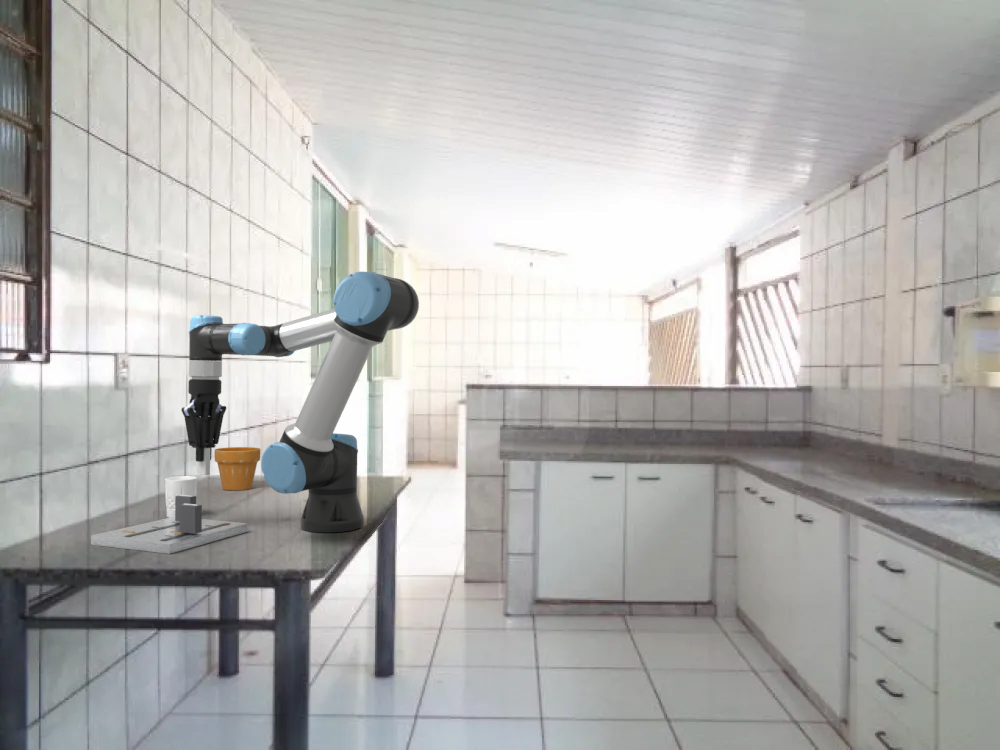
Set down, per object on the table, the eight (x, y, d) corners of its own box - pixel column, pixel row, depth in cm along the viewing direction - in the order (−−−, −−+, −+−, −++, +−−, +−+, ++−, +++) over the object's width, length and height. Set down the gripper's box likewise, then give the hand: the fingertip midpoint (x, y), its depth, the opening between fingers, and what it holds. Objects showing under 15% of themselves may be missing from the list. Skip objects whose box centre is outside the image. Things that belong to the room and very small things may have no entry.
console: (247, 531, 176) (247, 522, 176) (169, 554, 154) (169, 543, 154) (175, 524, 184) (175, 515, 184) (91, 544, 162) (91, 534, 162)
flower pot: (226, 485, 251) (227, 446, 251) (267, 486, 249) (267, 447, 249) (205, 491, 237) (206, 450, 237) (248, 492, 235) (249, 451, 235)
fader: (201, 532, 165) (201, 504, 165) (194, 533, 163) (195, 505, 163) (186, 530, 166) (186, 502, 166) (179, 532, 164) (179, 504, 164)
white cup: (184, 519, 190) (185, 480, 190) (157, 518, 192) (158, 479, 192) (203, 514, 198) (203, 476, 198) (176, 512, 200) (177, 475, 200)
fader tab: (195, 521, 177) (196, 495, 177) (189, 522, 175) (190, 496, 175) (181, 519, 178) (181, 494, 178) (175, 521, 176) (175, 495, 176)
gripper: (212, 378, 190) (210, 470, 190) (173, 378, 178) (170, 476, 178) (235, 378, 187) (233, 472, 187) (197, 378, 175) (195, 478, 175)
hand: (203, 474), depth 182 cm, fingers closed
